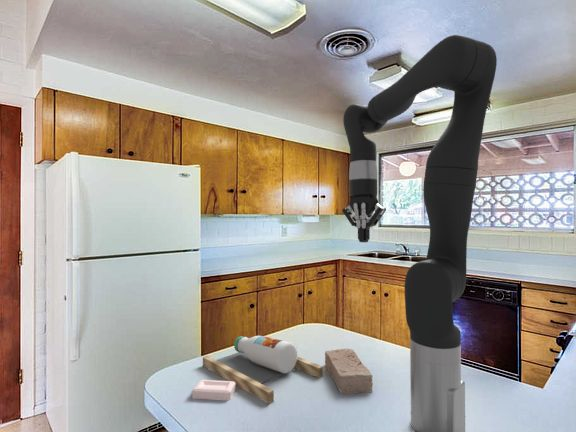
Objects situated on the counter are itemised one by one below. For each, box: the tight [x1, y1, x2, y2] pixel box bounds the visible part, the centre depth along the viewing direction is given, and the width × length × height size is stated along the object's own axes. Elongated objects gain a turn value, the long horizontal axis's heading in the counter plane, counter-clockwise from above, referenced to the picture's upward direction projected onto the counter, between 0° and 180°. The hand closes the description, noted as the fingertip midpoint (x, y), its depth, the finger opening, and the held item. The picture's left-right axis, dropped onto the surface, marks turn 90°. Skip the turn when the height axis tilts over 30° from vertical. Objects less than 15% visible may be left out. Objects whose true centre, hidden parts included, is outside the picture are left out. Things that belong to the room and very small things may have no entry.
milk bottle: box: [233, 335, 298, 374], centre depth 97 cm, size 8×8×20 cm
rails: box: [202, 355, 324, 405], centre depth 93 cm, size 28×19×2 cm
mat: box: [216, 352, 297, 385], centre depth 96 cm, size 20×15×1 cm
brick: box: [324, 348, 374, 394], centre depth 90 cm, size 16×8×5 cm, turn 8°
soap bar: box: [191, 379, 237, 401], centre depth 82 cm, size 5×9×2 cm, turn 83°
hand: (363, 242), depth 94 cm, fingers closed
